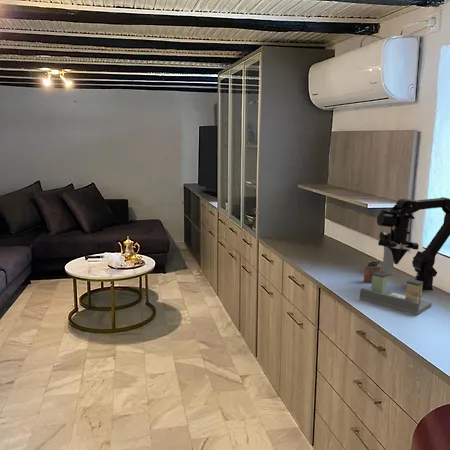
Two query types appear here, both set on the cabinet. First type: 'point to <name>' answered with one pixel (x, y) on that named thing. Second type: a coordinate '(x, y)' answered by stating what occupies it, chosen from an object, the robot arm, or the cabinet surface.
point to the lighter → (371, 270)
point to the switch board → (394, 301)
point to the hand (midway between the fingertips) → (395, 264)
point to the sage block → (379, 282)
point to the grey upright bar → (387, 261)
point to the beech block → (414, 290)
